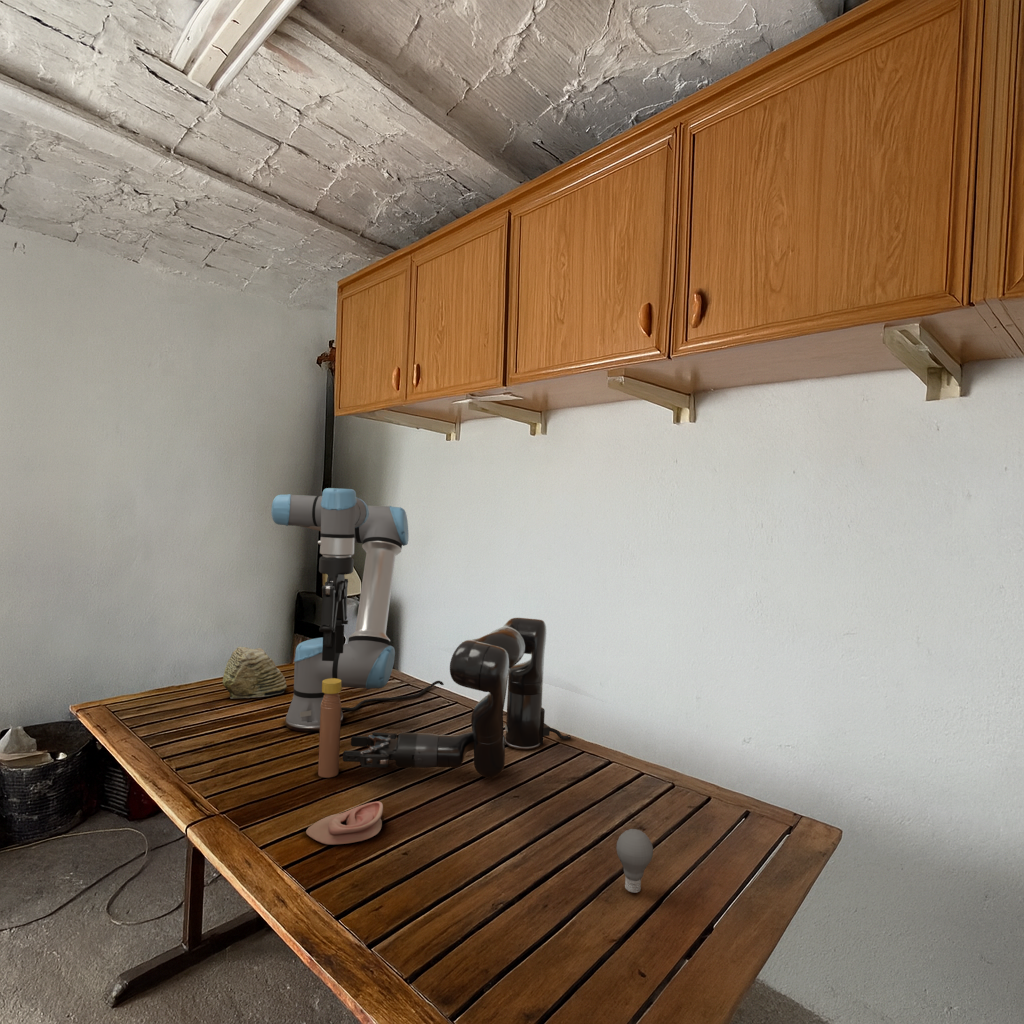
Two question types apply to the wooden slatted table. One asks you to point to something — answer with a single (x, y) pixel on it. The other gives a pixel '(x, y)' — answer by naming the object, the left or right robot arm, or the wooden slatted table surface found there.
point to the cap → (331, 686)
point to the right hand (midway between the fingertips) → (347, 748)
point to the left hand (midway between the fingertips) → (332, 656)
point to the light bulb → (634, 857)
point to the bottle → (329, 736)
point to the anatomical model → (348, 825)
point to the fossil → (252, 674)
